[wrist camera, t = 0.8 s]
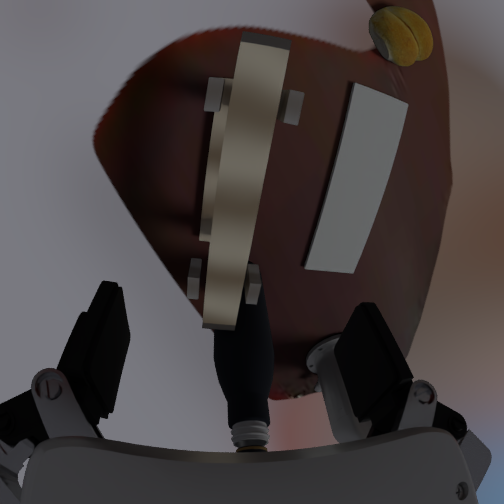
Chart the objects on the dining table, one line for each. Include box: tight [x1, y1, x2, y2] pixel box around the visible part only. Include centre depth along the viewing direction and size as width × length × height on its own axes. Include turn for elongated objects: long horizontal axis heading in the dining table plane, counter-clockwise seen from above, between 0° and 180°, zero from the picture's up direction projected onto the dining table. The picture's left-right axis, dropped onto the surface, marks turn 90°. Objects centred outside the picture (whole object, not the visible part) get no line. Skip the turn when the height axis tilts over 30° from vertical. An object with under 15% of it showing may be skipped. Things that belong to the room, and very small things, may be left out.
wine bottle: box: [214, 261, 274, 453], centre depth 28 cm, size 6×6×30 cm
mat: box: [304, 83, 408, 273], centre depth 34 cm, size 26×8×1 cm, turn 170°
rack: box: [187, 77, 304, 304], centre depth 26 cm, size 20×6×13 cm, turn 170°
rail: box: [202, 31, 292, 331], centre depth 22 cm, size 26×3×3 cm, turn 170°
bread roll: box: [369, 6, 433, 66], centre depth 21 cm, size 8×9×4 cm
